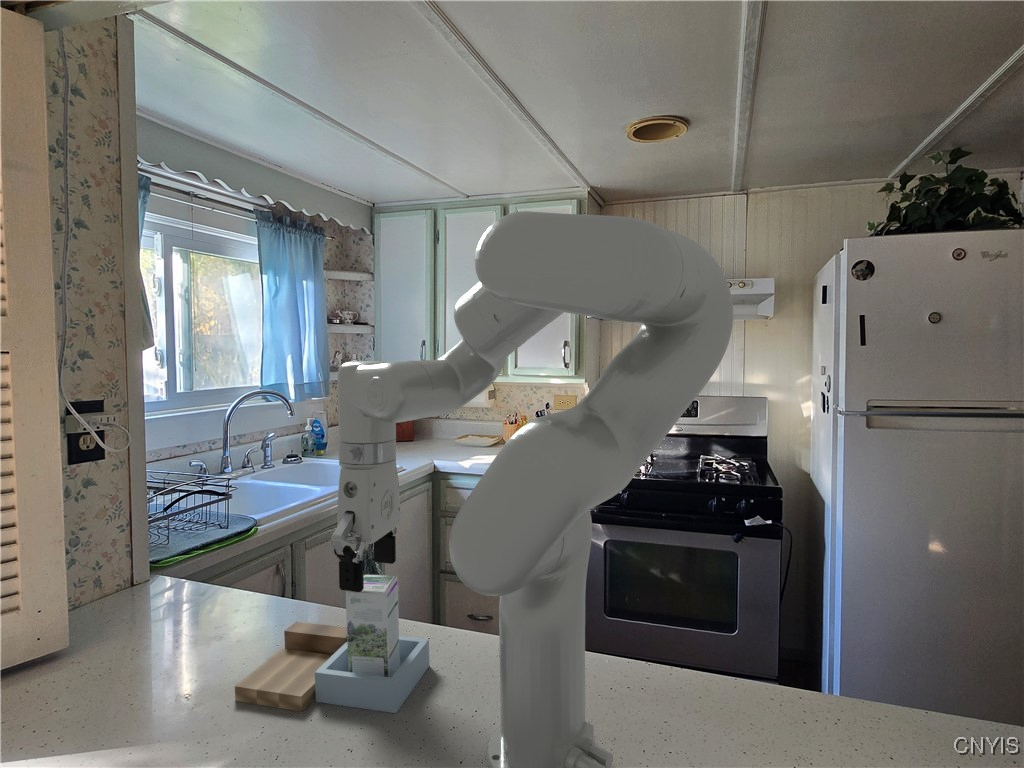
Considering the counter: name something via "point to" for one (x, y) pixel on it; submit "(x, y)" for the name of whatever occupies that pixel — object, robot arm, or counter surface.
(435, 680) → the counter surface
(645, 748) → the counter surface
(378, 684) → the square frame
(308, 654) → the board
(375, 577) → the syrup box
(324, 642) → the block
